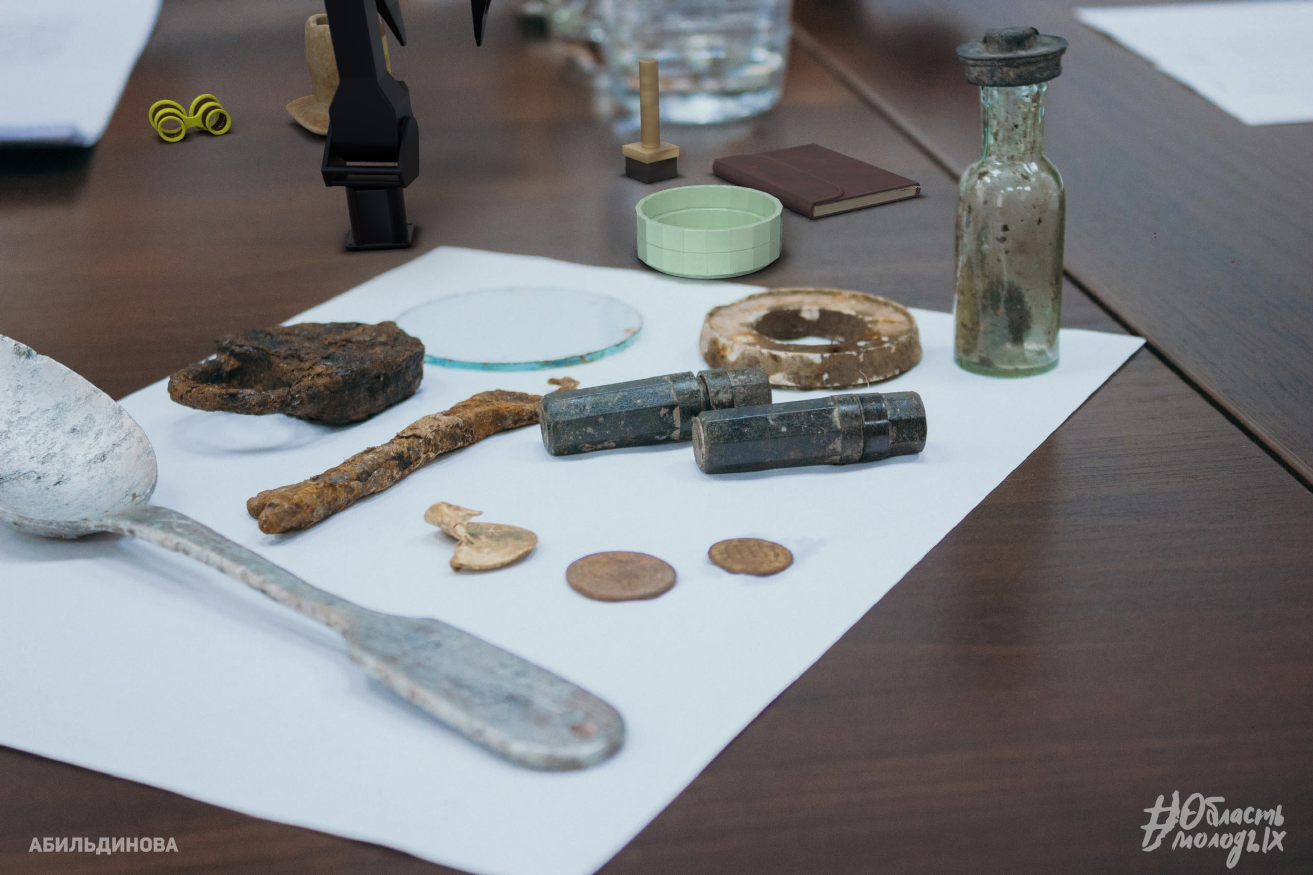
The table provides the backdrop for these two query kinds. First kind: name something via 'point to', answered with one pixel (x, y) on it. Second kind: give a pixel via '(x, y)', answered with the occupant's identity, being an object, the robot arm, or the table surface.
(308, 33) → the stone cup
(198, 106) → the opera glasses
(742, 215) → the bowl
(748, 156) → the notebook
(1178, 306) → the table surface
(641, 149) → the brush
